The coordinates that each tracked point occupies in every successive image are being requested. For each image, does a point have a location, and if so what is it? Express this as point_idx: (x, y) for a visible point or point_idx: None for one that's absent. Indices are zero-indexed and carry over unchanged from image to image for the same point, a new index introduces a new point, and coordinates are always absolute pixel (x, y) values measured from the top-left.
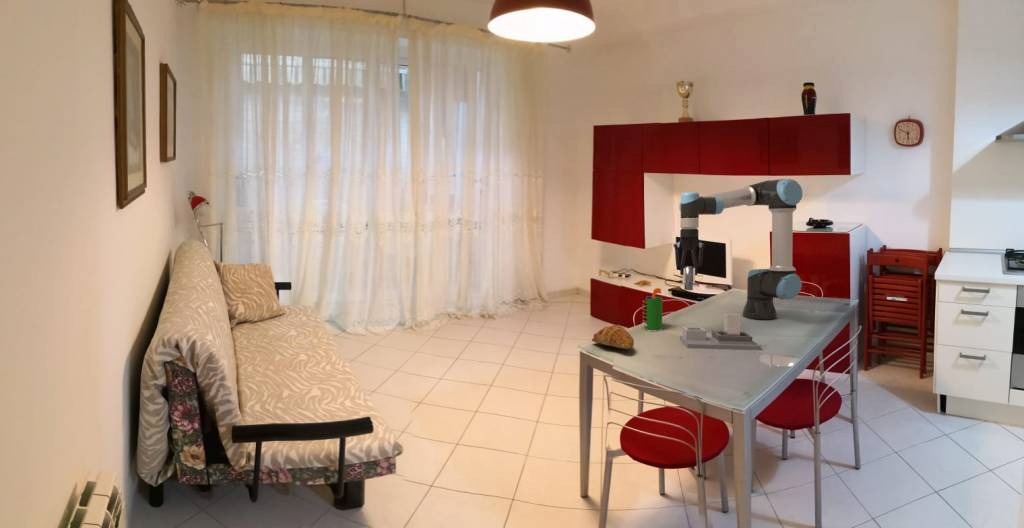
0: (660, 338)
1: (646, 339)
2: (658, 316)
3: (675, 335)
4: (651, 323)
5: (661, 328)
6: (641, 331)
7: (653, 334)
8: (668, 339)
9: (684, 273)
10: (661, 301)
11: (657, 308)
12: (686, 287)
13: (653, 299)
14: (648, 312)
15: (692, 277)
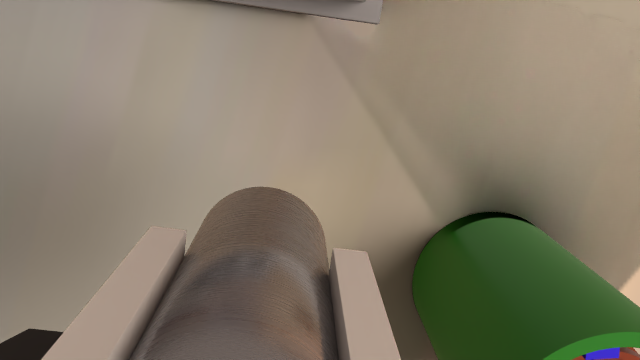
0: (496, 63)
1: (607, 22)
2: (496, 267)
3: (354, 178)
4: (535, 237)
5: (435, 255)
6: None
7: (491, 211)
8: (453, 25)
9: (380, 355)
10: (509, 358)
11: (535, 293)
12: (309, 221)
13: (628, 330)
14: (599, 279)
15: (167, 295)
